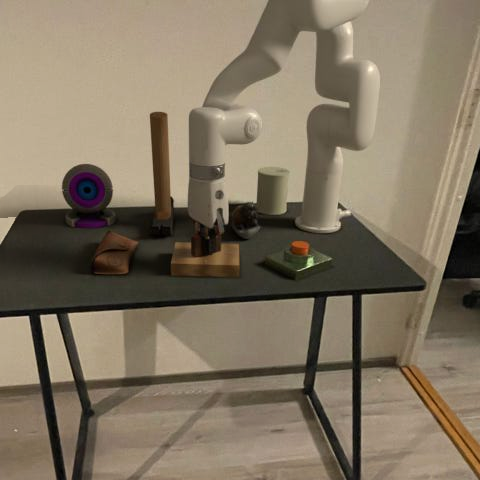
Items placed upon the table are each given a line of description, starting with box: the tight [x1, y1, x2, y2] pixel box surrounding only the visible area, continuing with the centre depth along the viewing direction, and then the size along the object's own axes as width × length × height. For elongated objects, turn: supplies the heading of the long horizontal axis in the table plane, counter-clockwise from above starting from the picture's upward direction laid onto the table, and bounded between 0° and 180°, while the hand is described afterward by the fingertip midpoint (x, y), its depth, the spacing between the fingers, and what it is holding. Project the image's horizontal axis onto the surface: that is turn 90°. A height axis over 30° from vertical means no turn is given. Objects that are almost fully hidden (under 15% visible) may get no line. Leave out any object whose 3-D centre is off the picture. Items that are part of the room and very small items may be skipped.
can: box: [255, 166, 290, 216], centre depth 156 cm, size 9×9×12 cm
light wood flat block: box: [170, 241, 240, 278], centre depth 123 cm, size 15×12×3 cm
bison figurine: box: [232, 201, 261, 240], centre depth 138 cm, size 12×7×10 cm, turn 12°
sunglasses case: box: [89, 229, 140, 276], centre depth 124 cm, size 18×7×7 cm
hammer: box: [149, 111, 175, 236], centre depth 134 cm, size 20×5×30 cm, turn 3°
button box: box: [264, 244, 333, 280], centre depth 124 cm, size 12×10×4 cm
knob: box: [190, 233, 222, 257], centre depth 121 cm, size 7×2×5 cm, turn 126°
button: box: [291, 240, 310, 254], centre depth 123 cm, size 4×4×2 cm
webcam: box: [61, 163, 116, 229], centre depth 142 cm, size 13×13×15 cm
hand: (206, 251), depth 122 cm, fingers closed on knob, 2 cm apart
